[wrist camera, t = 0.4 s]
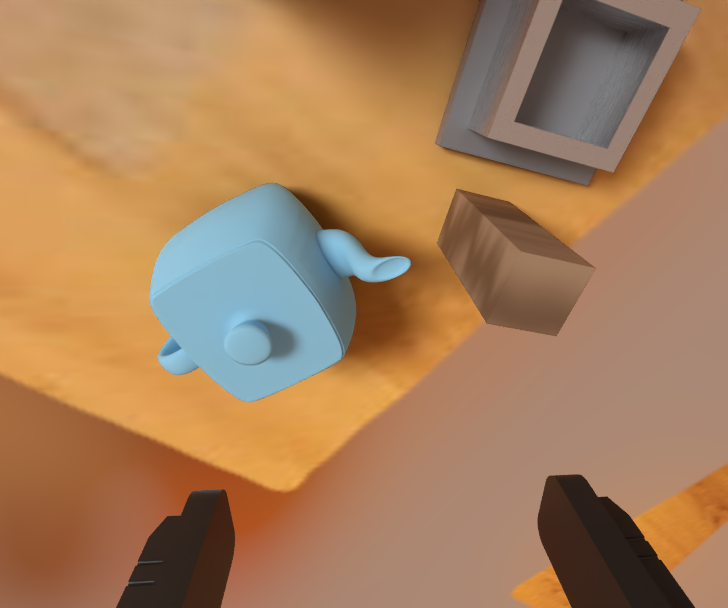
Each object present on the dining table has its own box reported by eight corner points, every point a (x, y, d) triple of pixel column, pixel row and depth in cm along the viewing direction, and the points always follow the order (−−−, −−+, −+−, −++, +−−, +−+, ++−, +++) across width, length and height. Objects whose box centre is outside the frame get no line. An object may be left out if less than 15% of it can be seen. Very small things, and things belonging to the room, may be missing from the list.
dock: (503, -71, 24) (544, -100, 20) (672, -4, 26) (743, -17, 22) (435, 142, 30) (454, 157, 25) (579, 181, 32) (620, 201, 28)
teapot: (417, 265, 35) (454, 347, 25) (238, 355, 38) (208, 459, 28) (345, 124, 29) (357, 158, 19) (140, 244, 32) (58, 327, 22)
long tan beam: (456, 188, 32) (520, 251, 21) (509, 201, 33) (595, 268, 22) (436, 242, 34) (486, 323, 23) (487, 253, 35) (556, 336, 24)
